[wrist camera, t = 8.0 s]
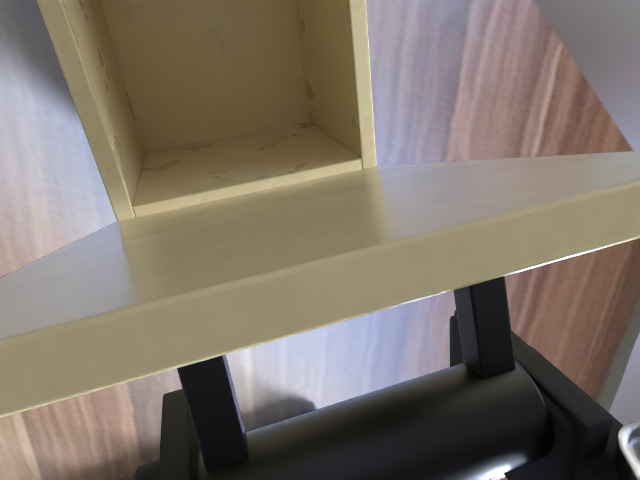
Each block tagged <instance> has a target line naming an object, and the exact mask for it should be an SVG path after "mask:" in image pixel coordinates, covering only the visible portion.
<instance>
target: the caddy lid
mask: <svg viewBox="0 0 640 480" xmlns="http://www.w3.org/2000/svg"><path fill="white" fill-rule="evenodd" d="M637 238H640V151H632V152H614V153H596V154H578V155H559V156H541V157H523V158H505V159H487V160H469V161H451V162H433V163H415V164H397V165H379V166H374V167H369V168H365V169H360V170H355V171H351V172H346V173H341V174H337V175H332V176H327V177H323V178H318V179H313V180H308V181H304V182H299V183H294V184H290V185H285V186H280V187H276V188H271V189H266V190H262V191H257V192H252V193H248V194H243V195H238V196H234V197H229V198H224V199H220V200H215V201H210V202H206V203H201V204H196V205H192V206H187V207H182V208H178V209H173V210H168V211H164V212H159V213H154V214H150V215H145V216H140V217H135V218H131V219H126V220H121V221H117V222H115V223H113V224H111V225H109V226H106V227H104V228H102V229H100V230H98V231H96V232H94V233H92V234H90V235H88V236H86V237H84V238H81V239H79V240H77V241H75V242H73V243H71V244H69V245H67V246H65V247H63V248H61V249H58V250H56V251H54V252H52V253H50V254H48V255H46V256H44V257H42V258H40V259H38V260H36V261H33V262H31V263H29V264H27V265H25V266H23V267H21V268H19V269H17V270H15V271H13V272H10V273H8V274H6V275H4V276H2V277H0V418H2V417H5V416H9V415H12V414H16V413H19V412H23V411H27V410H30V409H34V408H37V407H41V406H44V405H48V404H51V403H55V402H59V401H62V400H66V399H69V398H73V397H76V396H80V395H83V394H87V393H90V392H94V391H98V390H101V389H105V388H108V387H112V386H115V385H119V384H122V383H126V382H130V381H133V380H137V379H140V378H144V377H147V376H151V375H154V374H158V373H161V372H165V371H169V370H172V369H176V368H177V370H178V374H179V377H180V381H181V384H182V388H183V391H184V395H185V398H186V402H187V406H188V409H189V413H190V416H191V420H192V423H193V427H194V430H195V434H196V438H197V441H198V445H199V448H200V449H199V452H198V458H197V480H487V479H489V478H492V477H495V476H497V475H500V474H502V473H505V472H508V471H510V470H513V469H516V468H518V467H521V466H524V465H526V464H529V463H531V462H534V461H537V460H539V459H542V458H544V457H546V456H547V455H548V454H549V452H550V451H551V449H552V447H553V441H554V432H553V425H552V421H551V417H550V414H549V411H548V408H547V405H546V403H545V401H544V398H543V396H542V394H541V393H540V391H539V389H538V387H537V386H536V384H535V382H534V381H533V379H532V378H531V377H530V375H529V374H528V373H527V372H526V370H525V369H524V368H523V367H522V366H521V365H520V364H519V363H518V362H516V361H515V358H514V350H513V341H512V333H511V325H510V317H509V309H508V301H507V293H506V285H505V277H504V276H506V275H510V274H513V273H517V272H520V271H524V270H527V269H531V268H534V267H538V266H541V265H545V264H549V263H552V262H556V261H559V260H563V259H566V258H570V257H573V256H577V255H581V254H584V253H588V252H591V251H595V250H598V249H602V248H605V247H609V246H612V245H616V244H620V243H623V242H627V241H630V240H634V239H637ZM453 290H454V297H455V304H456V311H457V318H458V324H459V331H460V338H461V345H462V351H463V358H464V363H462V364H459V365H456V366H453V367H449V368H446V369H443V370H440V371H437V372H434V373H431V374H427V375H424V376H421V377H418V378H415V379H412V380H409V381H405V382H402V383H399V384H396V385H393V386H390V387H387V388H383V389H380V390H377V391H374V392H371V393H368V394H365V395H361V396H358V397H355V398H352V399H349V400H346V401H343V402H339V403H336V404H333V405H330V406H327V407H324V408H321V409H317V410H314V411H311V412H308V413H305V414H302V415H299V416H295V417H292V418H289V419H286V420H283V421H280V422H277V423H273V424H270V425H267V426H264V427H261V428H258V429H255V430H251V431H248V432H245V428H244V425H243V421H242V417H241V413H240V409H239V405H238V401H237V397H236V393H235V390H234V386H233V382H232V378H231V374H230V370H229V366H228V362H227V358H226V355H225V354H229V353H233V352H236V351H240V350H243V349H247V348H250V347H254V346H257V345H261V344H264V343H268V342H272V341H275V340H279V339H282V338H286V337H289V336H293V335H296V334H300V333H304V332H307V331H311V330H314V329H318V328H321V327H325V326H328V325H332V324H336V323H339V322H343V321H346V320H350V319H353V318H357V317H360V316H364V315H367V314H371V313H375V312H378V311H382V310H385V309H389V308H392V307H396V306H399V305H403V304H407V303H410V302H414V301H417V300H421V299H424V298H428V297H431V296H435V295H438V294H442V293H446V292H449V291H453Z"/></svg>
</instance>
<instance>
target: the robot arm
mask: <svg viewBox="0 0 640 480" xmlns="http://www.w3.org/2000/svg"><path fill="white" fill-rule="evenodd" d="M511 333H512V341H513V350H514V358H515V361H516V362H518V363H519V364H520V365H521V366H522V367H523V368H524V369H525V370H526V372H527V373H528V374H529V375H530V377H531V378H532V379H533V381H534V382H535V384H536V386H537V387H538V389H539V391H540V393H541V394H542V396H543V398H544V401H545V403H546V405H547V408H548V411H549V414H550V417H551V421H552V425H553V432H554V441H553V447H552V449H551V451H550V452H549V454H548V455H547V456H546V457H544V458H542V459H539V460H537V461H534V462H531V463H529V464H526V465H524V466H521V467H518V468H516V469H513V470H510V471H508V472H505V473H503V474H504V475H505V476H506V478H507V479H508V480H640V420H635V421H631V422H629V423H627V424H625V425H622V424H621V423H620V422H619V421H618V420H616V419H615V418H614V417H613V416H612V415H611V414H609V413H608V412H607V411H606V410H605V409H604V408H602V407H601V406H600V405H599V404H598V403H597V402H596V401H594V400H593V399H592V398H591V397H590V396H589V395H587V394H586V393H585V392H584V391H583V390H582V389H580V388H579V387H578V386H577V385H576V384H575V383H573V382H572V381H571V380H570V379H569V378H568V377H566V376H565V375H564V374H563V373H562V372H561V371H560V370H558V369H557V368H556V367H555V366H554V365H553V364H551V363H550V362H549V361H548V360H547V359H546V358H544V357H543V356H542V355H541V354H540V353H539V352H537V351H536V350H535V349H534V348H532V347H531V346H529V345H528V344H526V343H525V342H524V341H523V340H522V339H521V338H520V337H518V336H517V335H516V334H515V333H514V332H513V331H511ZM462 363H464V358H463V351H462V345H461V338H460V331H459V324H458V318H457V311H455V315H454V316H452V317H451V318H450V367H453V366H456V365H459V364H462ZM199 449H200V448H199V445H198V441H197V438H196V434H195V430H194V427H193V423H192V420H191V416H190V413H189V409H188V406H187V402H186V398H185V395H184V391H183V389H180V390H177V391H173V392H170V393H166V394H164V396H163V406H162V423H161V440H160V457H159V461H156V462H153V463H150V464H147V465H144V466H141V467H138V469H137V471H136V475H135V480H197V458H198V452H199Z"/></svg>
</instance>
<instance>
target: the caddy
mask: <svg viewBox="0 0 640 480" xmlns="http://www.w3.org/2000/svg"><path fill="white" fill-rule="evenodd" d="M36 1H37V3H38V6H39V9H40V11H41V14H42V17H43V20H44V22H45V25H46V28H47V30H48V33H49V36H50V39H51V41H52V44H53V47H54V50H55V52H56V55H57V58H58V60H59V63H60V66H61V69H62V71H63V74H64V77H65V80H66V82H67V85H68V88H69V90H70V93H71V96H72V99H73V101H74V104H75V107H76V110H77V112H78V115H79V118H80V120H81V123H82V126H83V129H84V131H85V134H86V137H87V140H88V142H89V145H90V148H91V150H92V153H93V156H94V159H95V161H96V164H97V167H98V170H99V172H100V175H101V178H102V180H103V183H104V186H105V189H106V191H107V194H108V197H109V200H110V202H111V205H112V208H113V210H114V213H115V216H116V219H117V221H121V220H126V219H131V218H135V217H140V216H145V215H150V214H154V213H159V212H164V211H168V210H173V209H178V208H182V207H187V206H192V205H196V204H201V203H206V202H210V201H215V200H220V199H224V198H229V197H234V196H238V195H243V194H248V193H252V192H257V191H262V190H266V189H271V188H276V187H280V186H285V185H290V184H294V183H299V182H304V181H308V180H313V179H318V178H323V177H327V176H332V175H337V174H341V173H346V172H351V171H355V170H360V169H365V168H369V167H374V166H377V165H376V150H375V134H374V119H373V104H372V88H371V73H370V57H369V42H368V26H367V11H366V0H36Z"/></svg>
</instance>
